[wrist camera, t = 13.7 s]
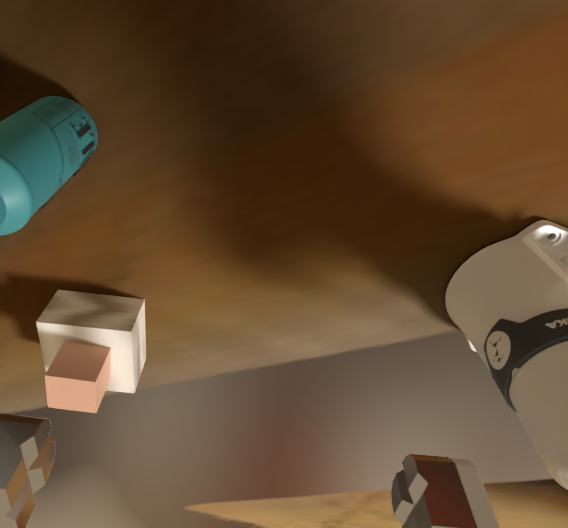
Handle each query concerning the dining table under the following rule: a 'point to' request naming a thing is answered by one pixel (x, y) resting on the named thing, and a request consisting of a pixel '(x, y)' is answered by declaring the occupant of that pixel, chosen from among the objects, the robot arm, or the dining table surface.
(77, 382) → the terracotta block
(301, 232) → the dining table surface
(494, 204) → the dining table surface
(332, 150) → the dining table surface
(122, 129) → the dining table surface
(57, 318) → the base block
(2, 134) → the beverage bottle
